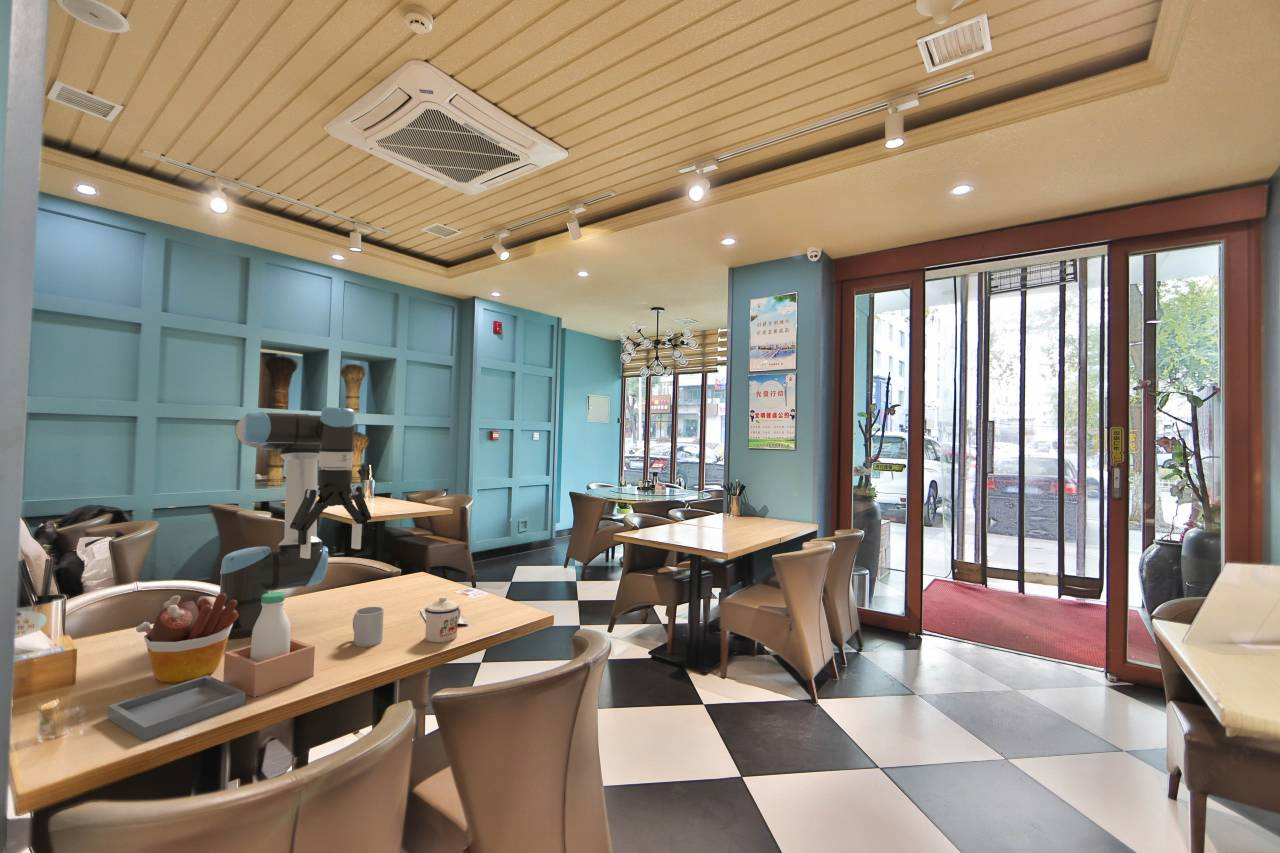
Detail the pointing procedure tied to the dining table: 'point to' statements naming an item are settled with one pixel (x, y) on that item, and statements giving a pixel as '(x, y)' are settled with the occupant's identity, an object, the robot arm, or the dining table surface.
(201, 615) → the bucket of meat
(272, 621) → the milk bottle
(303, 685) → the dining table surface
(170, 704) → the tray
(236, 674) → the deep holder
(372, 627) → the cup
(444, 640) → the teacup with lid
